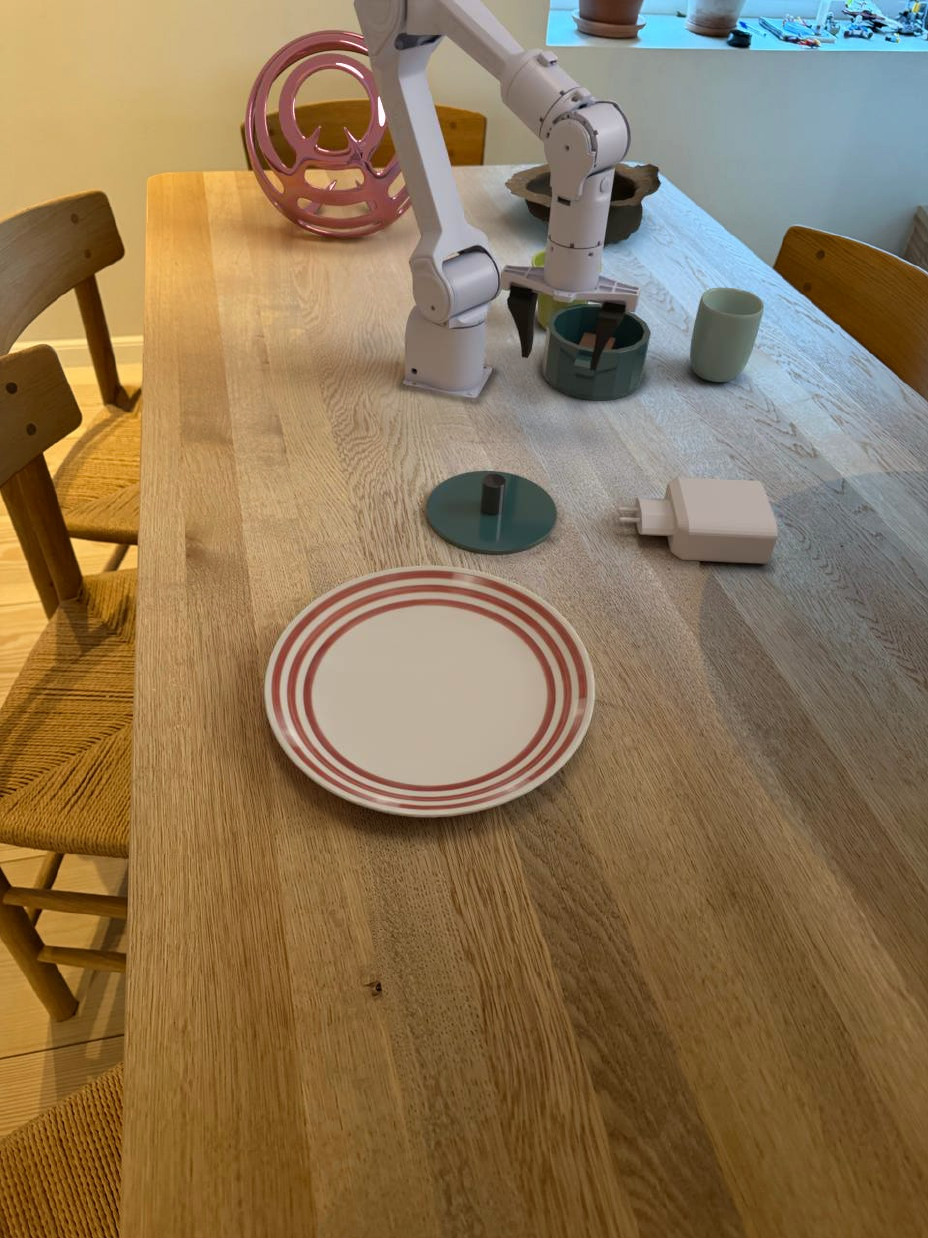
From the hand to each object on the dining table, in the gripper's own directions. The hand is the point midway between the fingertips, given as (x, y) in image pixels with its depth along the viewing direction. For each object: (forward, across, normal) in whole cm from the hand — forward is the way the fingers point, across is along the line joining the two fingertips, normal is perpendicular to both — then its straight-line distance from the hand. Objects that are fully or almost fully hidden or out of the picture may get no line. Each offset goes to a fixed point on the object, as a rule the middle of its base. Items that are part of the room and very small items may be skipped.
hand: (560, 359), depth 106 cm
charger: (+10, +18, -14) cm, 25 cm away
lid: (+9, -2, -18) cm, 20 cm away
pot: (+9, +2, +15) cm, 18 cm away
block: (+9, +2, +15) cm, 18 cm away
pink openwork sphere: (+10, -45, +46) cm, 65 cm away
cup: (+10, +17, +21) cm, 29 cm away
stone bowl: (+10, -10, +62) cm, 64 cm away
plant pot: (+10, -5, +27) cm, 29 cm away
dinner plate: (+10, -1, -44) cm, 45 cm away
